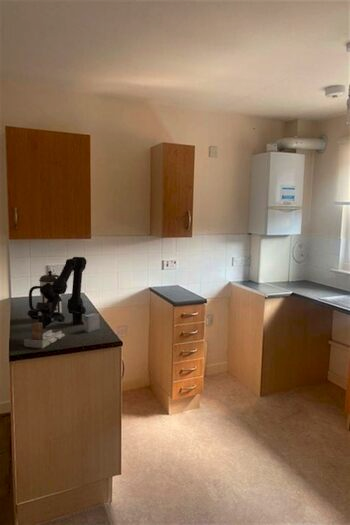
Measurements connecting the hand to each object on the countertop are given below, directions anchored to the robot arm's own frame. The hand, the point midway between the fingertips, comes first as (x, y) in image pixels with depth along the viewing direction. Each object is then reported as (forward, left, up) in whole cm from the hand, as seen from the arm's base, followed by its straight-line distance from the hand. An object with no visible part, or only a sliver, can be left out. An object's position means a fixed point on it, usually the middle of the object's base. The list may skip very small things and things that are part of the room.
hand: (39, 330), depth 189 cm
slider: (+2, -1, -5) cm, 6 cm away
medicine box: (-12, +29, -7) cm, 32 cm away
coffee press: (-44, +10, -7) cm, 46 cm away
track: (-3, +3, -7) cm, 8 cm away
